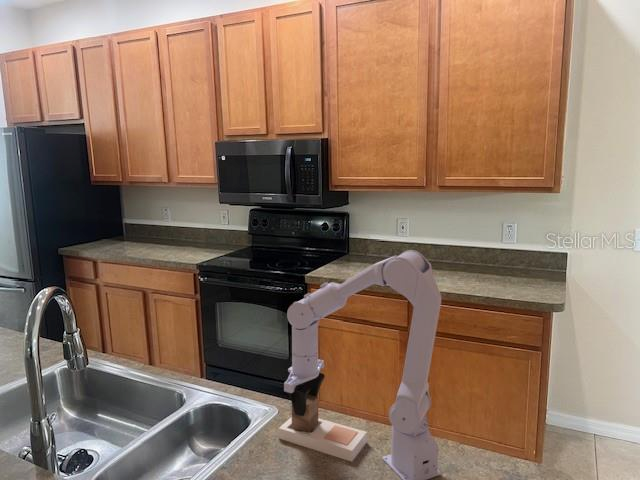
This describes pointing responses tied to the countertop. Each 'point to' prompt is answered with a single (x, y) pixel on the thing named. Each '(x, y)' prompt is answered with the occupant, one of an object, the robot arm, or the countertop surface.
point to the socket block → (327, 438)
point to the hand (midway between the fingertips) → (305, 409)
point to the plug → (307, 416)
